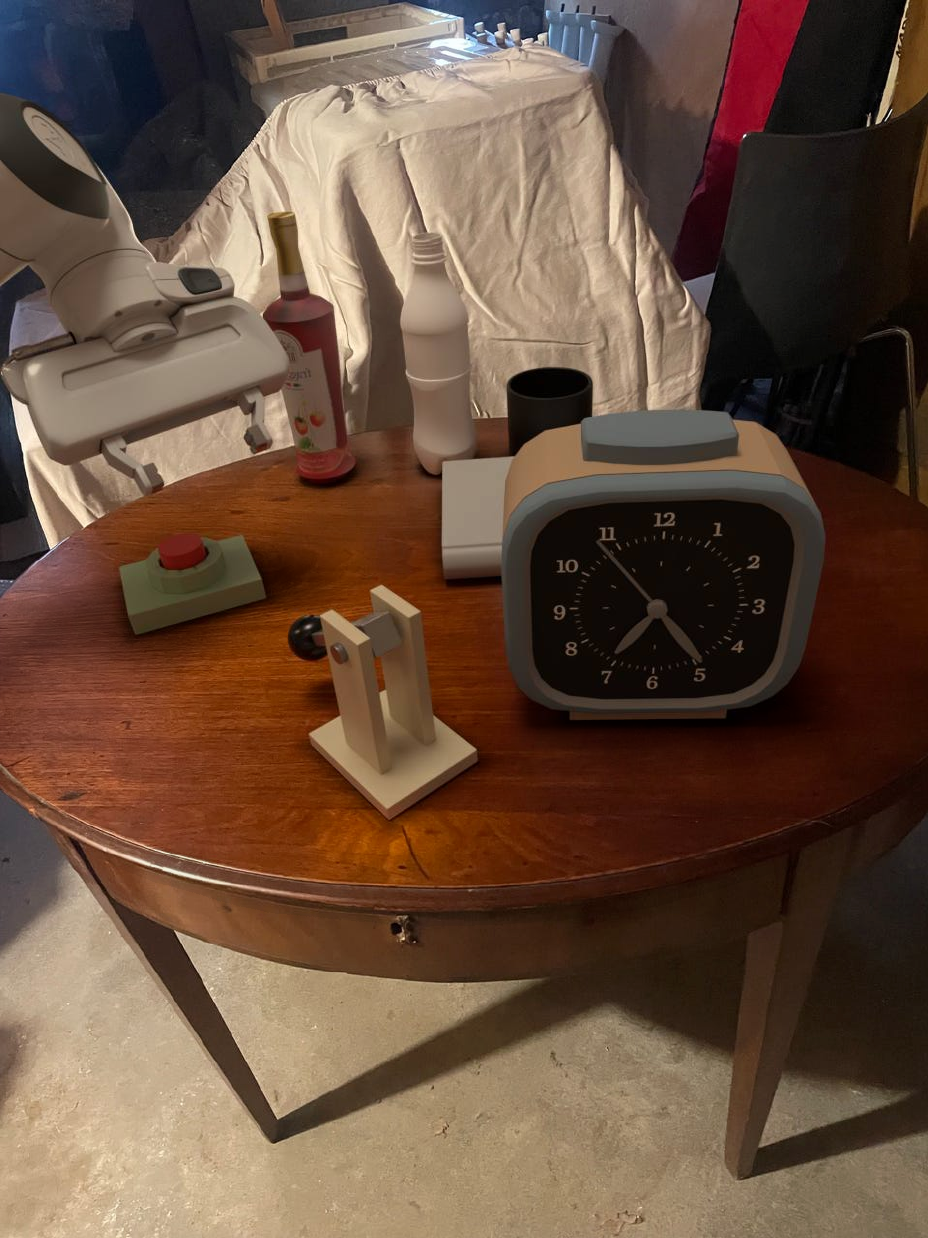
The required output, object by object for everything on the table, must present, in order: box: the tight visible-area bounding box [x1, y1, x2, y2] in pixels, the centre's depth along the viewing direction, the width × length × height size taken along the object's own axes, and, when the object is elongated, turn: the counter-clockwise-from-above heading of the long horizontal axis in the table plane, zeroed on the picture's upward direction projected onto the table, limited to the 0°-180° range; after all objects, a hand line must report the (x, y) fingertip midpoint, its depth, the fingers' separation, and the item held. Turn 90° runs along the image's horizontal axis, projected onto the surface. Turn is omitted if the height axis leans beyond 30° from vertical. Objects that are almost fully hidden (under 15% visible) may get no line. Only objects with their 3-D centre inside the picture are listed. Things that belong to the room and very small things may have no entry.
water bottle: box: [399, 232, 478, 476], centre depth 94 cm, size 7×7×25 cm
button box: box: [118, 534, 267, 636], centre depth 82 cm, size 12×9×4 cm
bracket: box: [308, 584, 479, 821], centre depth 61 cm, size 10×8×13 cm
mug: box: [505, 366, 594, 457], centre depth 99 cm, size 9×12×9 cm
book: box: [441, 456, 515, 580], centre depth 87 cm, size 18×4×24 cm
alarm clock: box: [501, 409, 827, 721], centre depth 62 cm, size 21×10×22 cm, turn 87°
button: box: [157, 532, 206, 570], centre depth 81 cm, size 4×4×2 cm
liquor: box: [261, 211, 356, 485], centre depth 93 cm, size 7×7×28 cm
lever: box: [287, 611, 403, 662], centre depth 63 cm, size 14×4×4 cm, turn 40°
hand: (211, 468), depth 69 cm, fingers open, 8 cm apart
